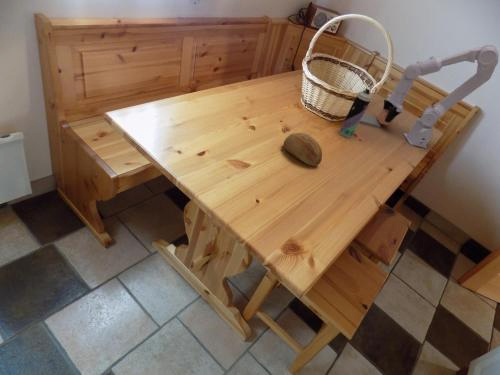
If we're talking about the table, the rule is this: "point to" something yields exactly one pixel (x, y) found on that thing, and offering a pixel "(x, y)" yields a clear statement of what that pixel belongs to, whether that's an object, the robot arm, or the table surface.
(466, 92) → the robot arm
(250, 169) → the table surface
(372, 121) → the slate tile
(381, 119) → the clay cube
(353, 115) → the spray can
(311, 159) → the bread roll
